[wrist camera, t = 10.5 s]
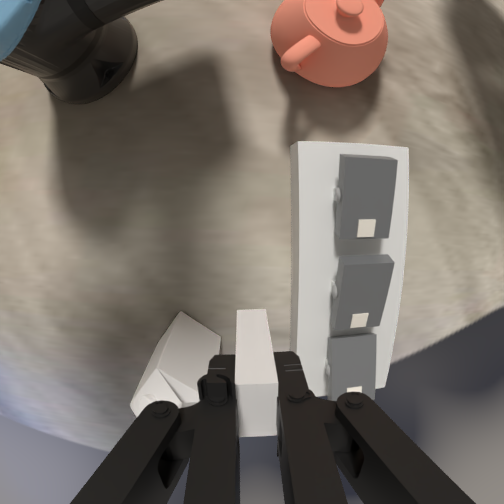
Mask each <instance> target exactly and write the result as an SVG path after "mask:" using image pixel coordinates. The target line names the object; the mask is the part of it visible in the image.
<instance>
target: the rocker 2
mask: <svg viewBox="0 0 504 504" xmlns="http://www.w3.org/2000/svg"><path fill="white" fill-rule="evenodd" d="M376 344H377V334H374V333H371V332H370V333H361V334H351V335H341V336H330V337H328V365H326V375H327V377H328V400H331V401H337V398H338V397H339V396H340V395H342V394H344V393H346V392H352V391H353V392H361V393H364V394H366V395H367V396H369V397H370V398H371V399H372V400H374V399H375V383H376Z"/></svg>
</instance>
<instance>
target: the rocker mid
mask: <svg viewBox="0 0 504 504" xmlns="http://www.w3.org/2000/svg"><path fill="white" fill-rule="evenodd" d="M394 264H395V262H394V261H393V260H392V259H391V257H390V256H389V255H388V254H379V255H353V256H339V262H338V270H337V277H336V285H333V286H332V296H333V298H334V299H333V305H332V312H331V318H330V321H331V324H332V327H333V329H334V331H335V330H346V329H357V328H367V327H376V326H380V322H381V318H382V314H383V311H384V307H385V303H386V299H387V295H388V291H389V286H390V282H391V278H392V273H393V268H394Z"/></svg>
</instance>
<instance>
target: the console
mask: <svg viewBox="0 0 504 504" xmlns="http://www.w3.org/2000/svg"><path fill="white" fill-rule="evenodd" d="M340 154H353V155H371V156H386V157H392V158H394V159H396V160H398V164H397V175H396V185H395V194H394V202H393V210H392V218H391V225H390V232H389V238H387V239H344V240H339V238H338V237H337V235H336V234H335V222H336V209H337V202H336V201H335V189H336V188H338V179H339V158H340ZM290 159H291V238H292V248H291V327H290V351H293V352H294V353H296V354H297V355H298V356H299V358H300V361H301V365H302V368H303V371H304V374H305V378H306V381H307V384H308V388H309V389H310V390H311V391H313V393H314V394H315V396H316V397H318V396H326V395H328V377H327V375H326V365H328V337H330V336H341V335H351V334H361V333H370V332H371V333H374V334H377V344H376V383H375V389H377V388H382V387H385V384H386V380H387V375H388V370H389V365H390V361H391V356H392V350H393V345H394V339H395V334H396V328H397V321H398V315H399V308H400V301H401V293H402V285H403V276H404V266H405V255H406V242H407V226H408V202H409V150H408V147H398V146H387V145H375V144H360V143H342V142H317V141H297V142H296V143H294V144H292V145H291V146H290ZM379 254H388V255H389V256H390V257H391V259H392V260H393V261H394V262H395V264H394V268H393V273H392V278H391V282H390V286H389V291H388V295H387V299H386V303H385V307H384V311H383V314H382V318H381V322H380V326H376V327H367V328H357V329H346V330H335V331H334V329H333V327H332V324H331V321H330V318H331V312H332V305H333V299H334V298H333V296H332V286H333V285H336V277H337V270H338V262H339V256H353V255H379Z"/></svg>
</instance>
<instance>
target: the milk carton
mask: <svg viewBox="0 0 504 504" xmlns="http://www.w3.org/2000/svg"><path fill="white" fill-rule="evenodd" d="M220 343H221V336H219V335H217V334H216V333H214V332H213V331H211V330H209V329H208V328H206V327H205V326H203V325H202V324H200V323H198V322H197V321H195V320H194V319H192V318H191V317H189V316H188V315H186V314H185V313H183V312H182V311H180V312H179V313H178V315H177V316H176V317H175V319H174V320H173V322H172V323H171V325H170V326H169V327H168V329H167V330H166V332H165V333H164V335H163V336H162V337H161V339H160V340H159V342H158V343H157V346H156V348H155V350H154V352H153V354H152V356H151V358H150V361H149V363H148V365H147V367H146V369H145V372H144V374H143V376H142V378H141V380H140V383H139V385H138V387H137V389H136V391H135V394H134V396H133V398H132V401H131V403H130V407H131V409H132V411H133V412H134V414H135V415H136V417H138V416H139V414H140V413H141V412H142V410H143V409H144V408H145V407H146V406H147V405H148V404H150V403H152V402H155V401H160V400H164V401H170V402H173V403H175V404H176V405H177V406H178V408H183V407H188V406H192V405H194V404H196V403H198V402H199V394H198V387H197V382H198V380H199V378H201V377H202V376H203V375H206V374H207V372H208V365H209V361H210V360H211V358H212V357H213V356H214V355H219V351H220Z"/></svg>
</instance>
